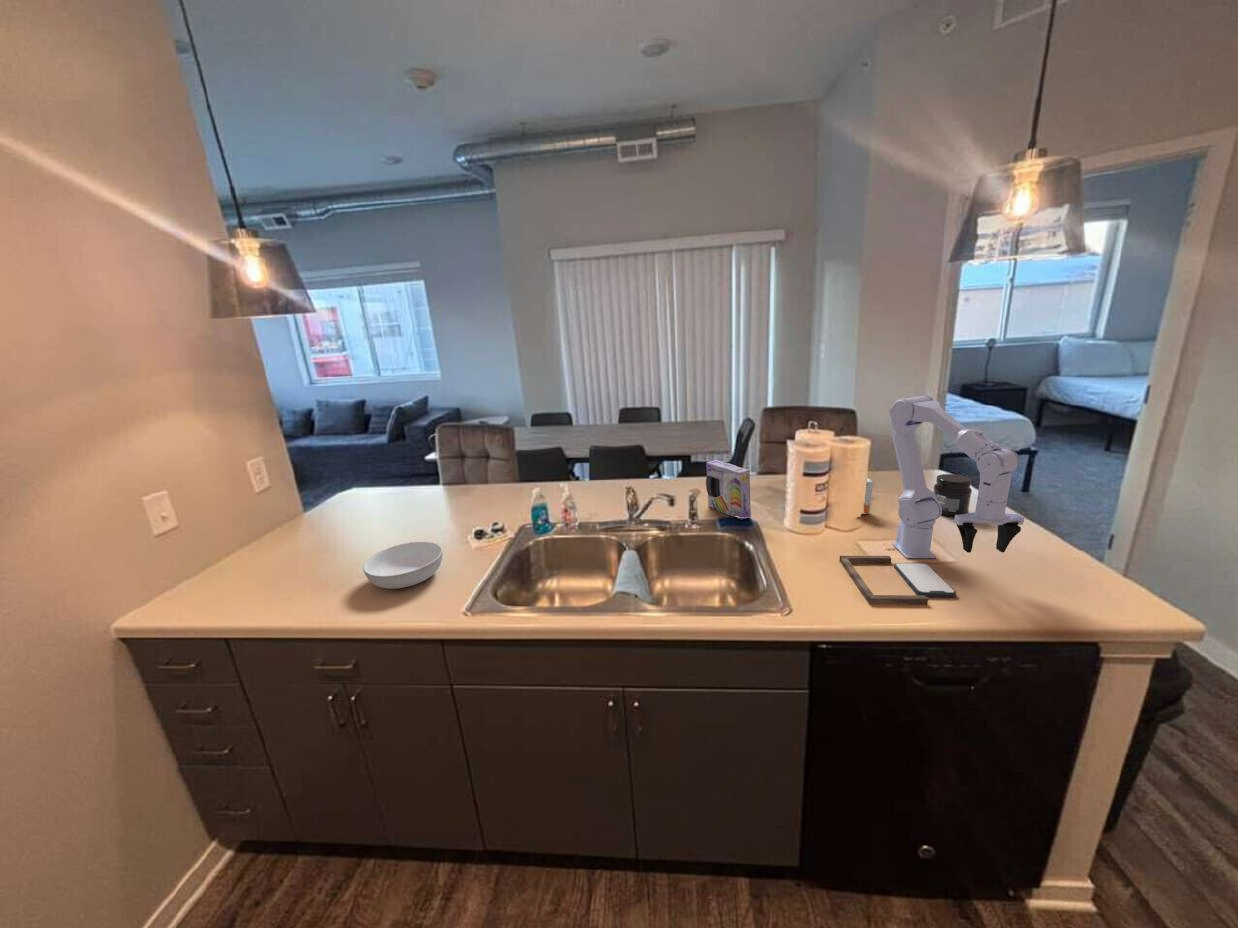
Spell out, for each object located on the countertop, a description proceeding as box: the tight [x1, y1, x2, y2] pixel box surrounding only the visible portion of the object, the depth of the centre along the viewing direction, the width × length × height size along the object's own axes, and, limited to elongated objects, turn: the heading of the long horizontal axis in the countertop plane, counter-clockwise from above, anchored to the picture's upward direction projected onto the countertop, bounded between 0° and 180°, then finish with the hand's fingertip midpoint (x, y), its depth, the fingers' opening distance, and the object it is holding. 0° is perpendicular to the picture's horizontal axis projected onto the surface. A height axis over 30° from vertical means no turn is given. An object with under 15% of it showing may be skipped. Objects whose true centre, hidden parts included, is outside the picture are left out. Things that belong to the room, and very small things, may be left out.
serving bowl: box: [362, 541, 443, 590], centre depth 141 cm, size 21×21×7 cm
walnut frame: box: [838, 555, 929, 606], centre depth 127 cm, size 22×13×2 cm, turn 174°
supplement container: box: [933, 473, 973, 518], centre depth 165 cm, size 10×10×12 cm
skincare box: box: [864, 477, 874, 515], centre depth 168 cm, size 6×4×12 cm
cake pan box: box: [705, 459, 752, 517], centre depth 174 cm, size 19×5×18 cm, turn 28°
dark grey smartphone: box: [893, 562, 957, 599], centre depth 126 cm, size 9×2×16 cm
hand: (983, 550), depth 122 cm, fingers open, 7 cm apart
